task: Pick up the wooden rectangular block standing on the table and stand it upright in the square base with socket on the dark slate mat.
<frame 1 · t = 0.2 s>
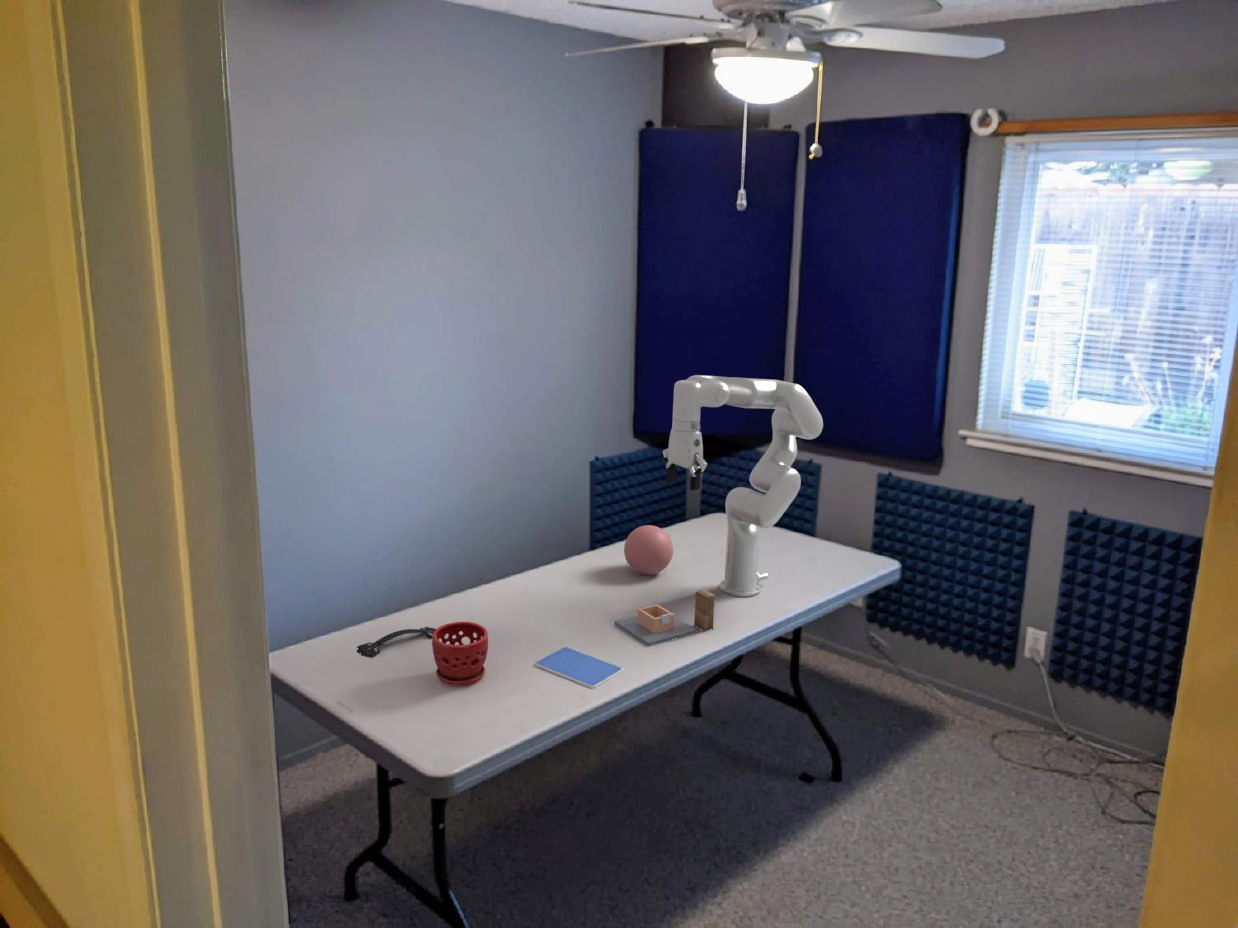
hand: (682, 485, 264), 36 cm above the table, tool pointing down, fingers open, 9 cm apart
black curved handle: (400, 645, 246), on the table
wooden rectangular block: (703, 627, 260), on the table
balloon: (652, 571, 300), on the table
square base with socket: (655, 628, 258), on the table
plant pot: (461, 679, 228), on the table
tablet computer: (578, 670, 235), on the table
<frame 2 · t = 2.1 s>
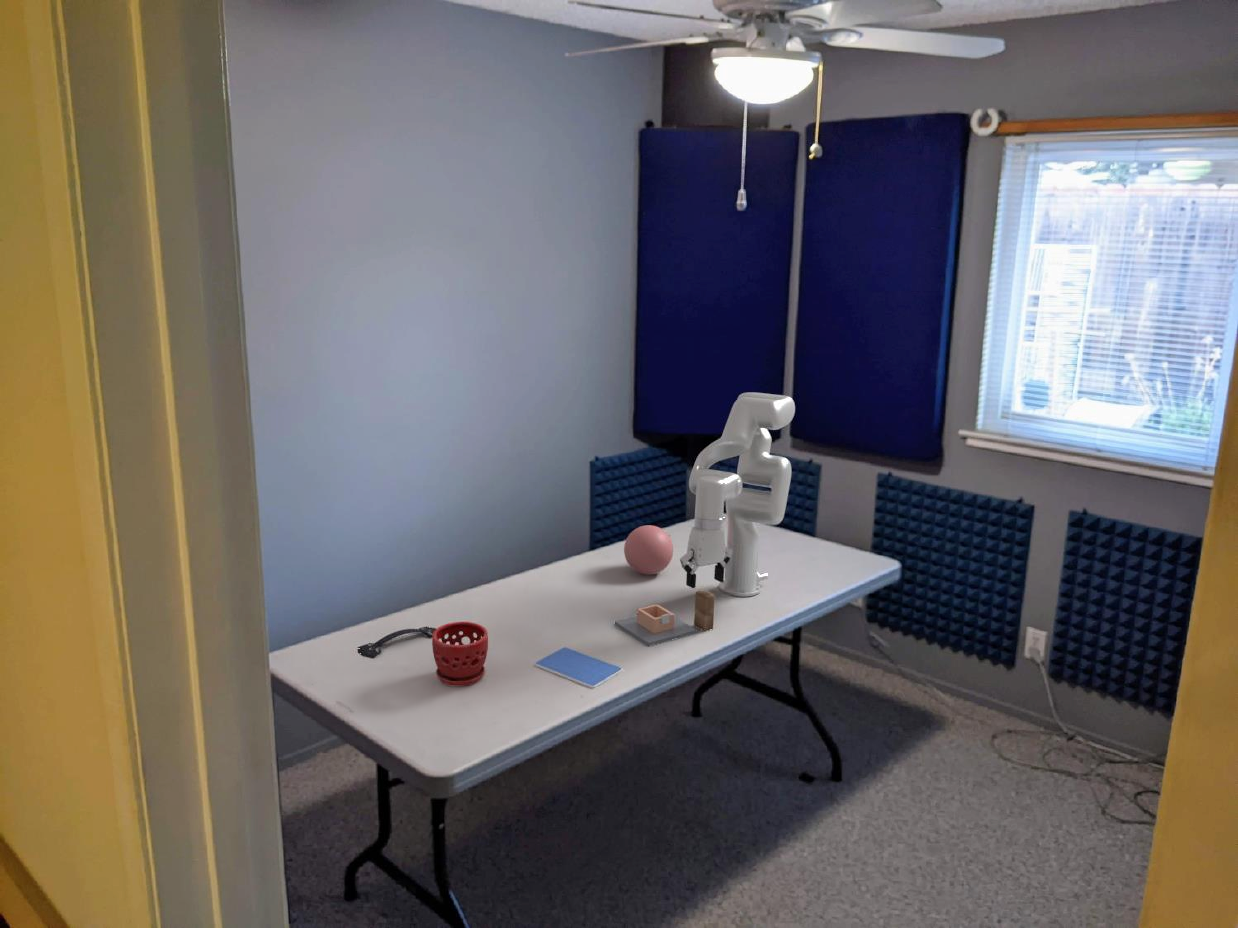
hand: (704, 583, 256), 13 cm above the table, tool pointing down, fingers open, 9 cm apart
nothing on the table moved.
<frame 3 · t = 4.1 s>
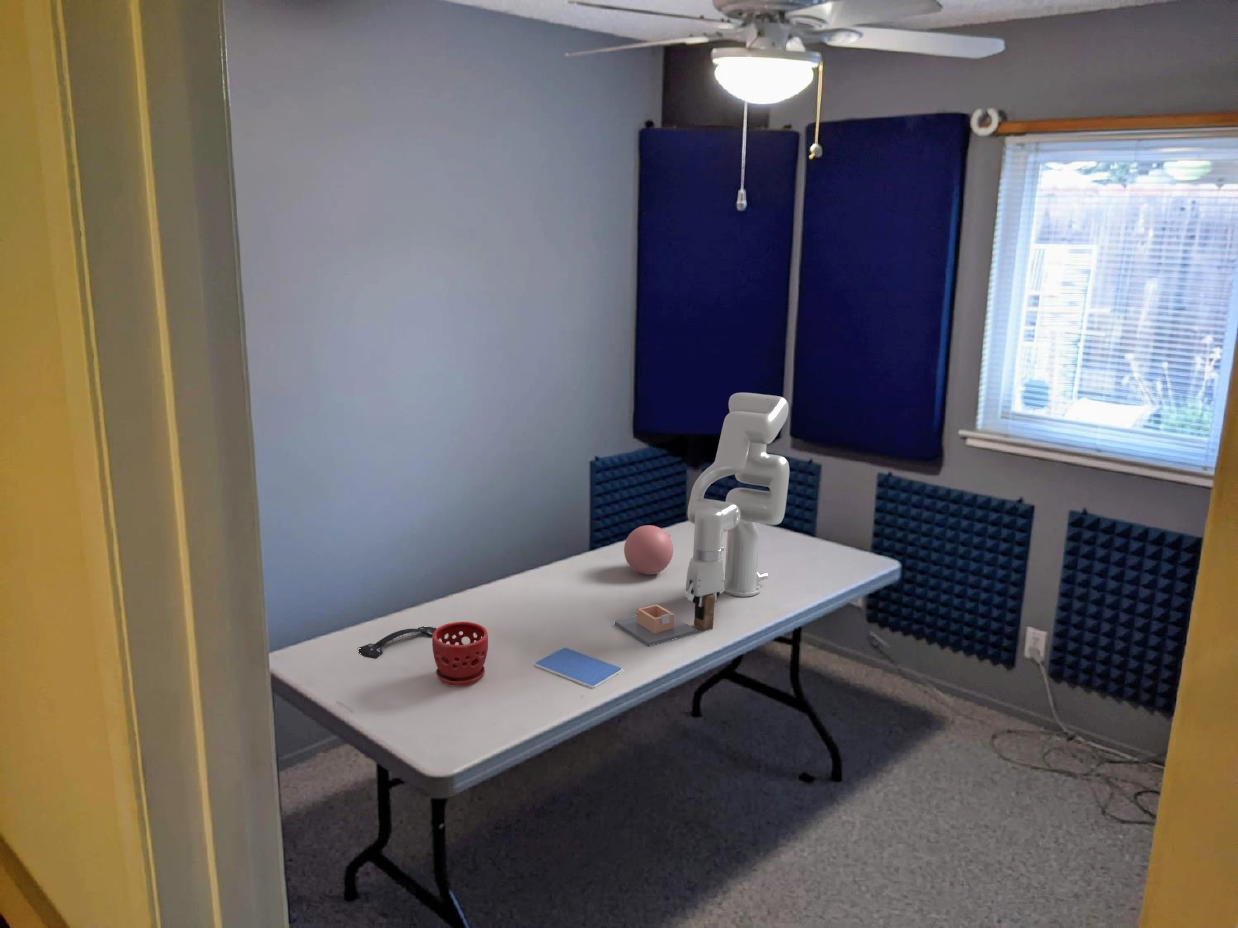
hand: (704, 616, 259), 3 cm above the table, tool pointing down, fingers closed on wooden rectangular block, 2 cm apart
wooden rectangular block: (703, 626, 260), on the table, touching gripper
everything else where it was.
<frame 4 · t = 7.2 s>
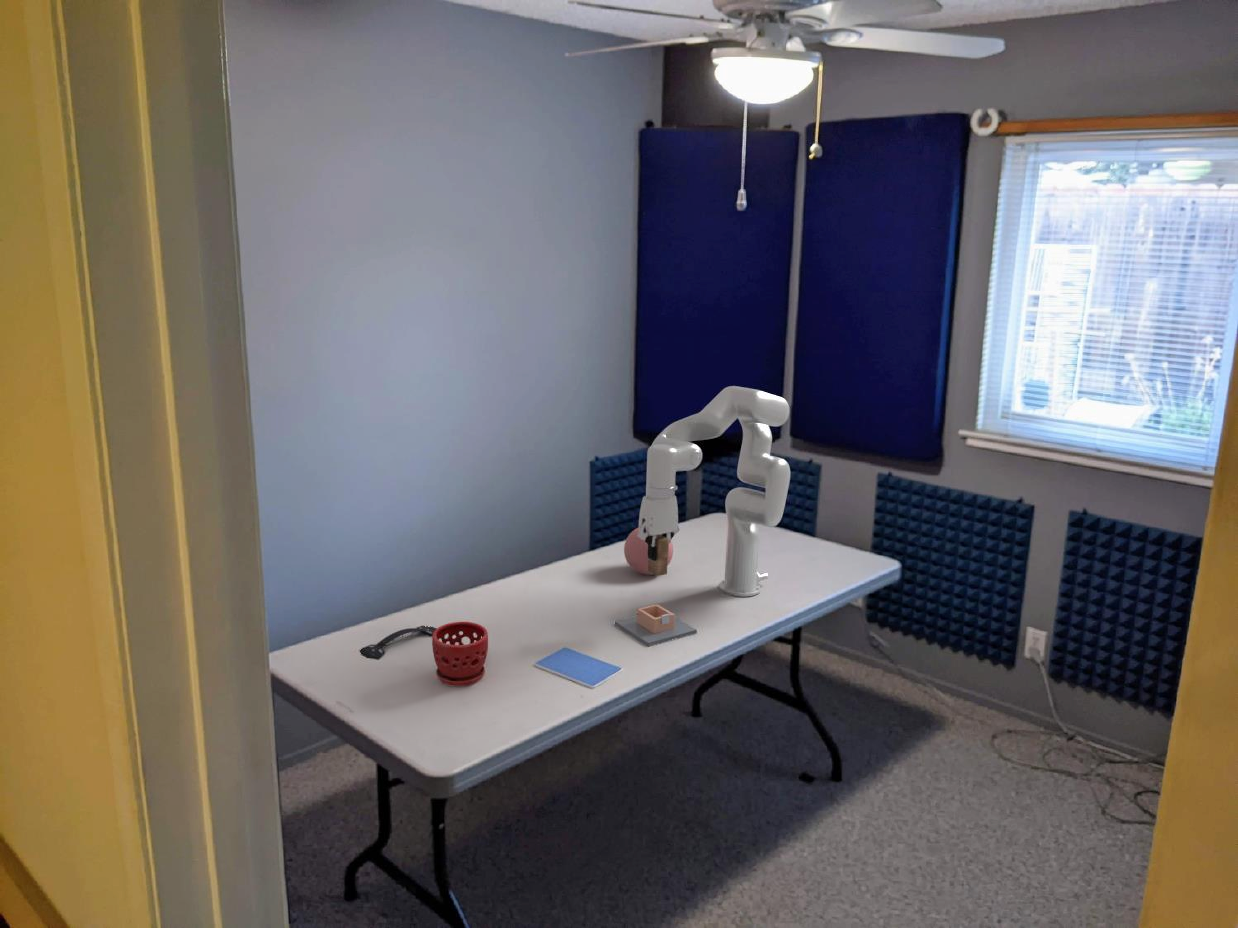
hand: (657, 557, 253), 21 cm above the table, tool pointing down, fingers closed on wooden rectangular block, 3 cm apart
wooden rectangular block: (657, 572, 254), point 16 cm above the table, touching gripper
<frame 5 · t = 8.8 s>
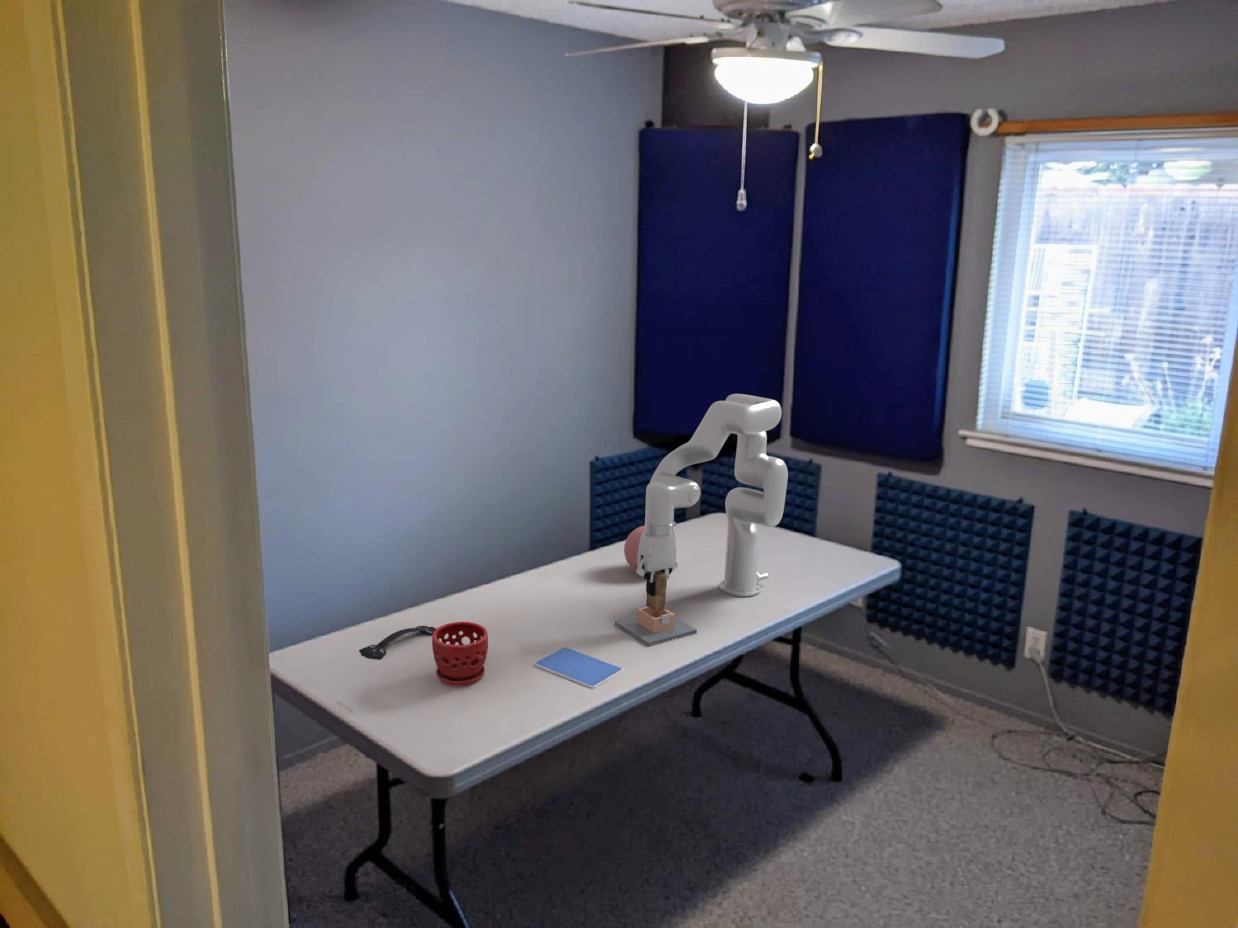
hand: (656, 592, 255), 11 cm above the table, tool pointing down, fingers closed on wooden rectangular block, 3 cm apart
wooden rectangular block: (655, 607, 256), point 6 cm above the table, touching gripper
when the fingers open (7 cm above the table, at t = 10.3 s): wooden rectangular block drops 1 cm, resting on square base with socket.
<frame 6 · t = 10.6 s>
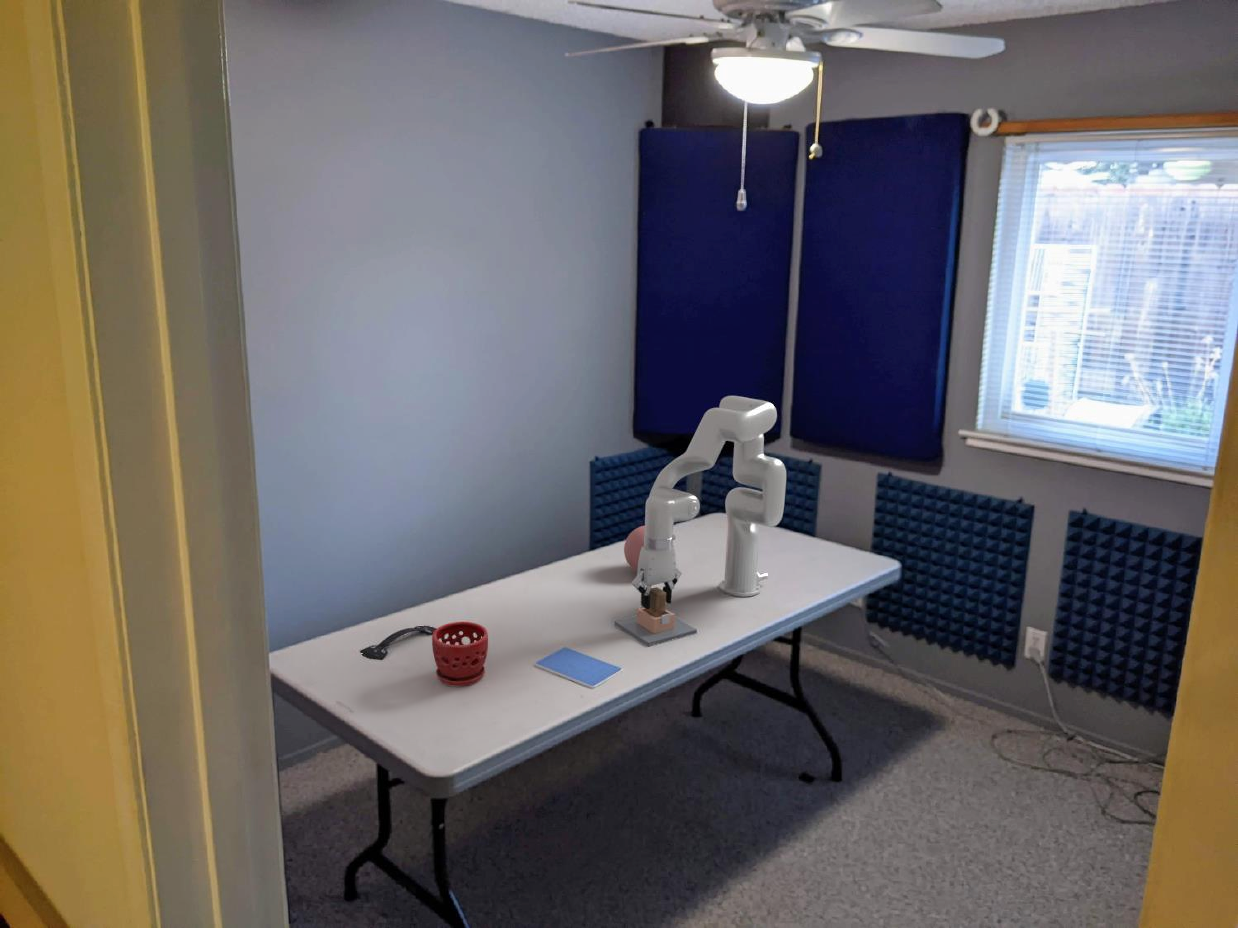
hand: (656, 604, 256), 7 cm above the table, tool pointing down, fingers open, 6 cm apart
wooden rectangular block: (655, 625, 258), point 1 cm above the table, touching square base with socket
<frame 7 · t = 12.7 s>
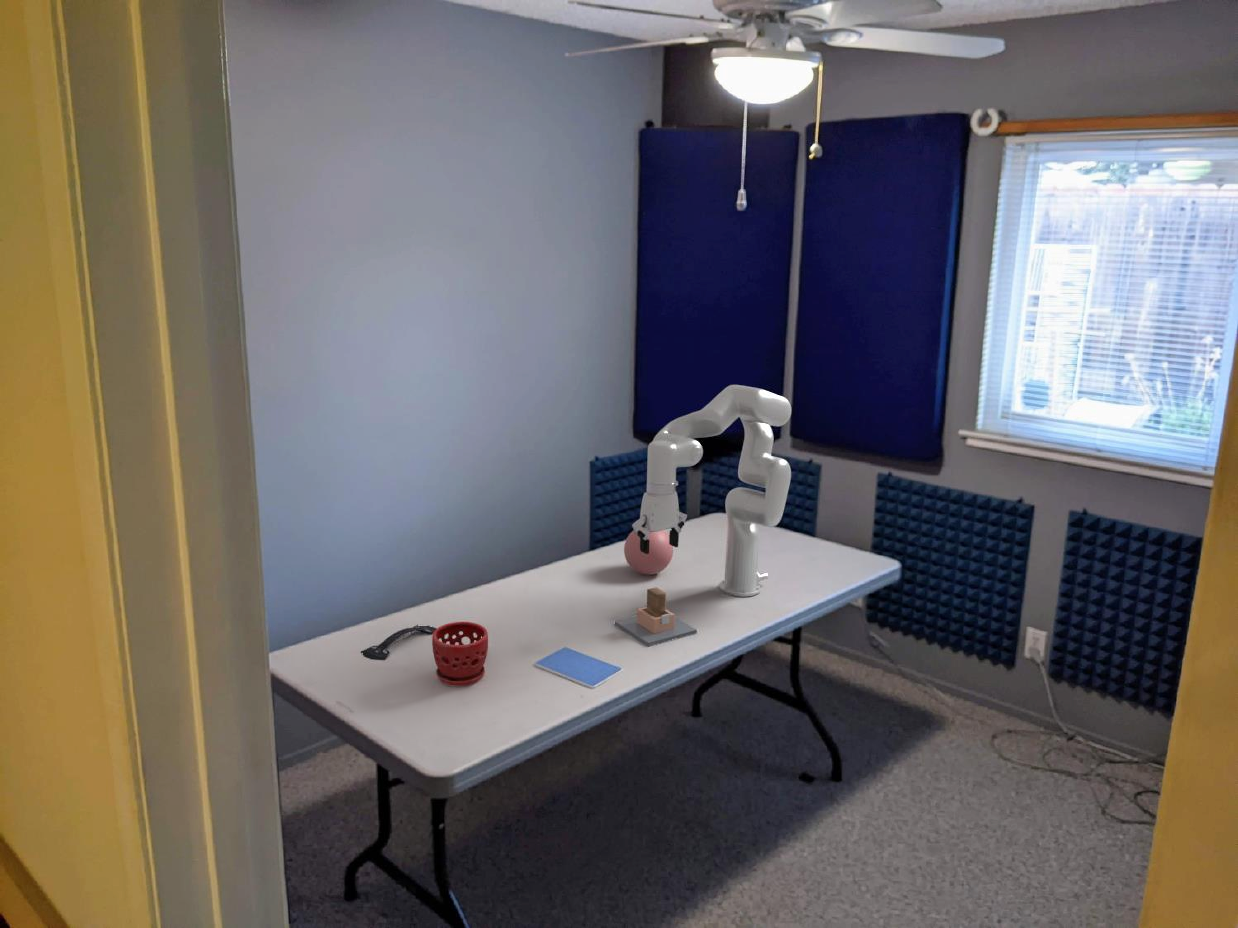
hand: (659, 549, 254), 22 cm above the table, tool pointing down, fingers open, 9 cm apart
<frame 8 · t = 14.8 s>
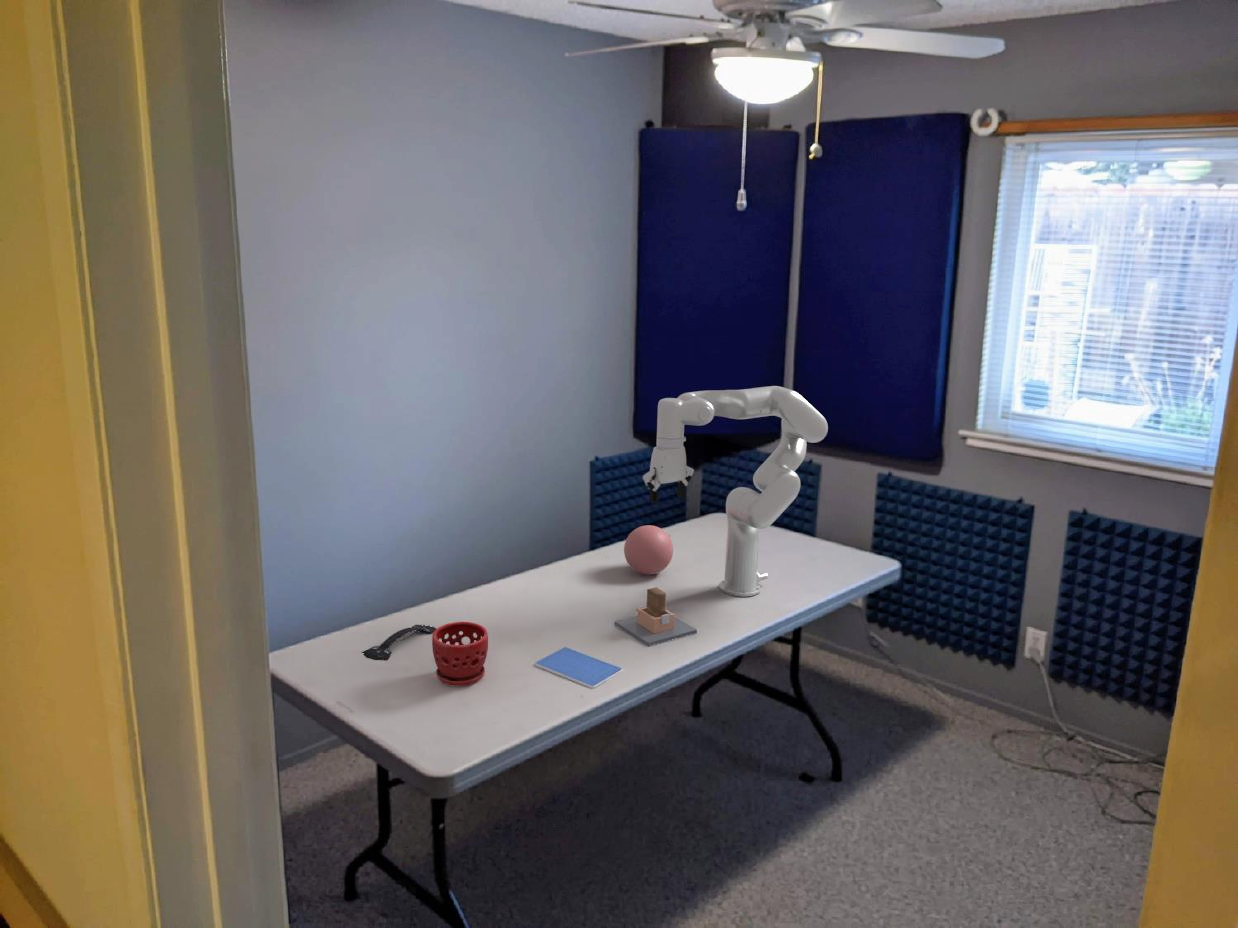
hand: (667, 500, 270), 30 cm above the table, tool pointing down, fingers open, 9 cm apart
at the end: wooden rectangular block 0.1 cm off-centre on the square base with socket, point 1.0 cm above the square base with socket's base; wooden rectangular block tilted 0°; the gripper is holding nothing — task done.
